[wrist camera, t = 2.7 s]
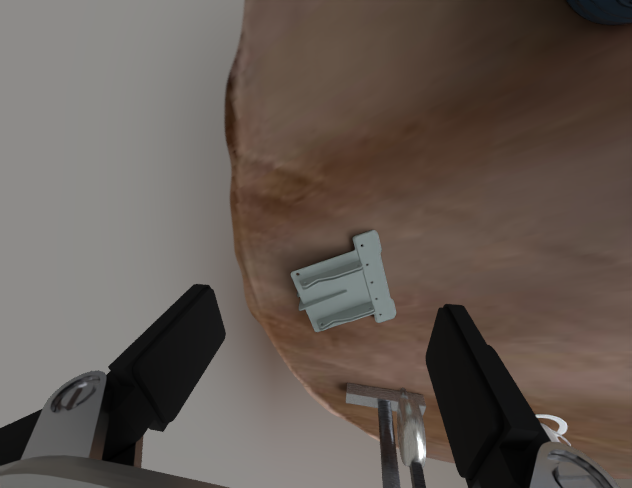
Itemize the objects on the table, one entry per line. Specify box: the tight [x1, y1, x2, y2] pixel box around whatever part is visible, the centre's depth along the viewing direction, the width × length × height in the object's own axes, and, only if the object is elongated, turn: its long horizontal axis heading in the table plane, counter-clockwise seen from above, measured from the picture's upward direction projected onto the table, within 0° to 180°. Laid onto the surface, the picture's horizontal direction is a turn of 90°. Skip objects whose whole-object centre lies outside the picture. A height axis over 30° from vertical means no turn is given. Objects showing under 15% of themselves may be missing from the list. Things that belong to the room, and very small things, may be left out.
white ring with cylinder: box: [536, 414, 571, 446], centre depth 40 cm, size 9×8×4 cm
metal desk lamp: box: [346, 383, 426, 488], centre depth 32 cm, size 20×14×19 cm
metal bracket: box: [291, 230, 396, 332], centre depth 34 cm, size 14×6×15 cm
